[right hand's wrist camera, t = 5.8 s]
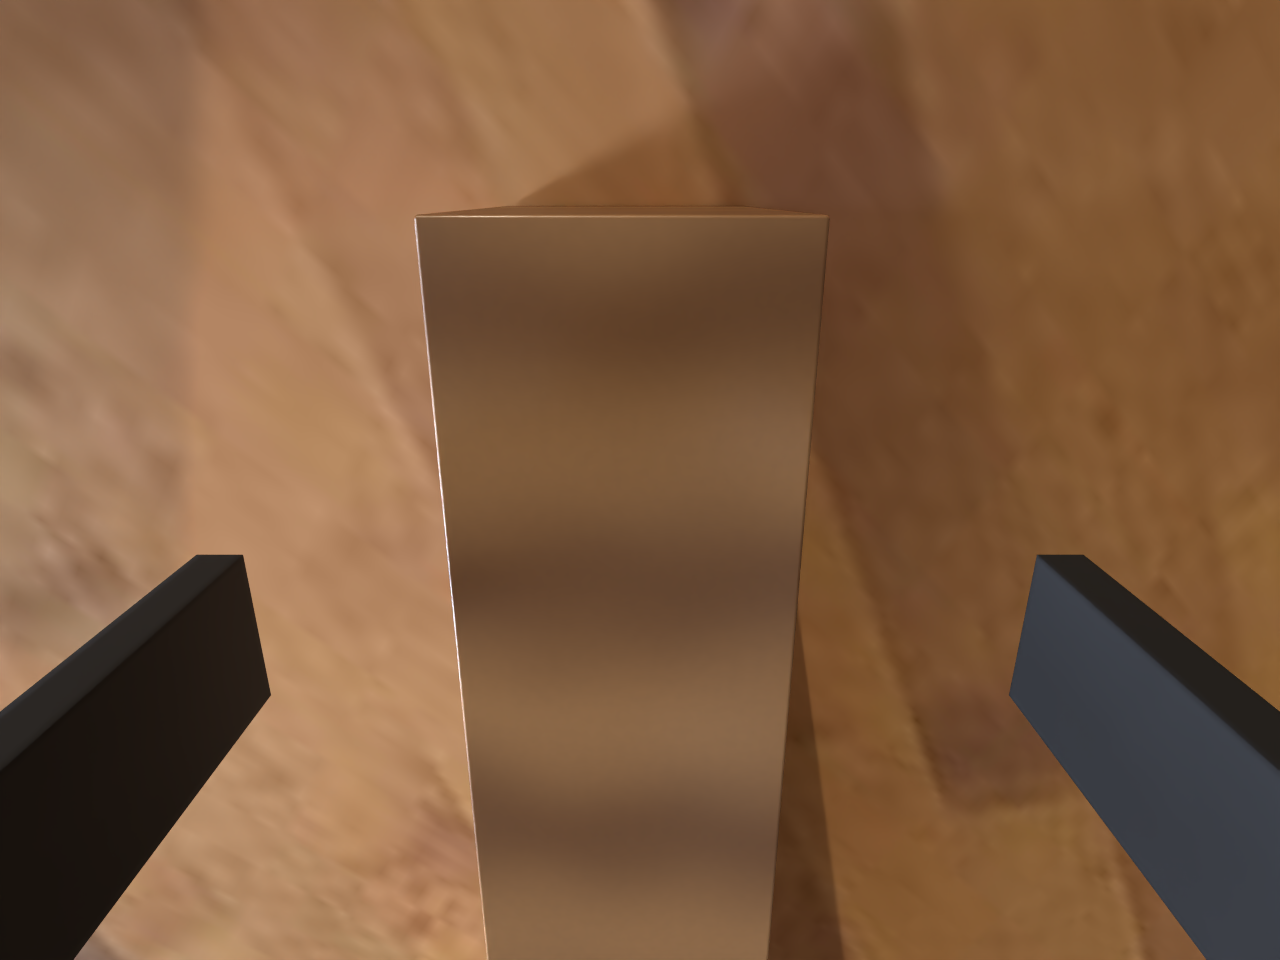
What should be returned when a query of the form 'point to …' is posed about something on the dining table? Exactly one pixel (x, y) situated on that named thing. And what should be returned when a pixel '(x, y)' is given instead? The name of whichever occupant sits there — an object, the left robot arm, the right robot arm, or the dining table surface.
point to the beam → (624, 559)
